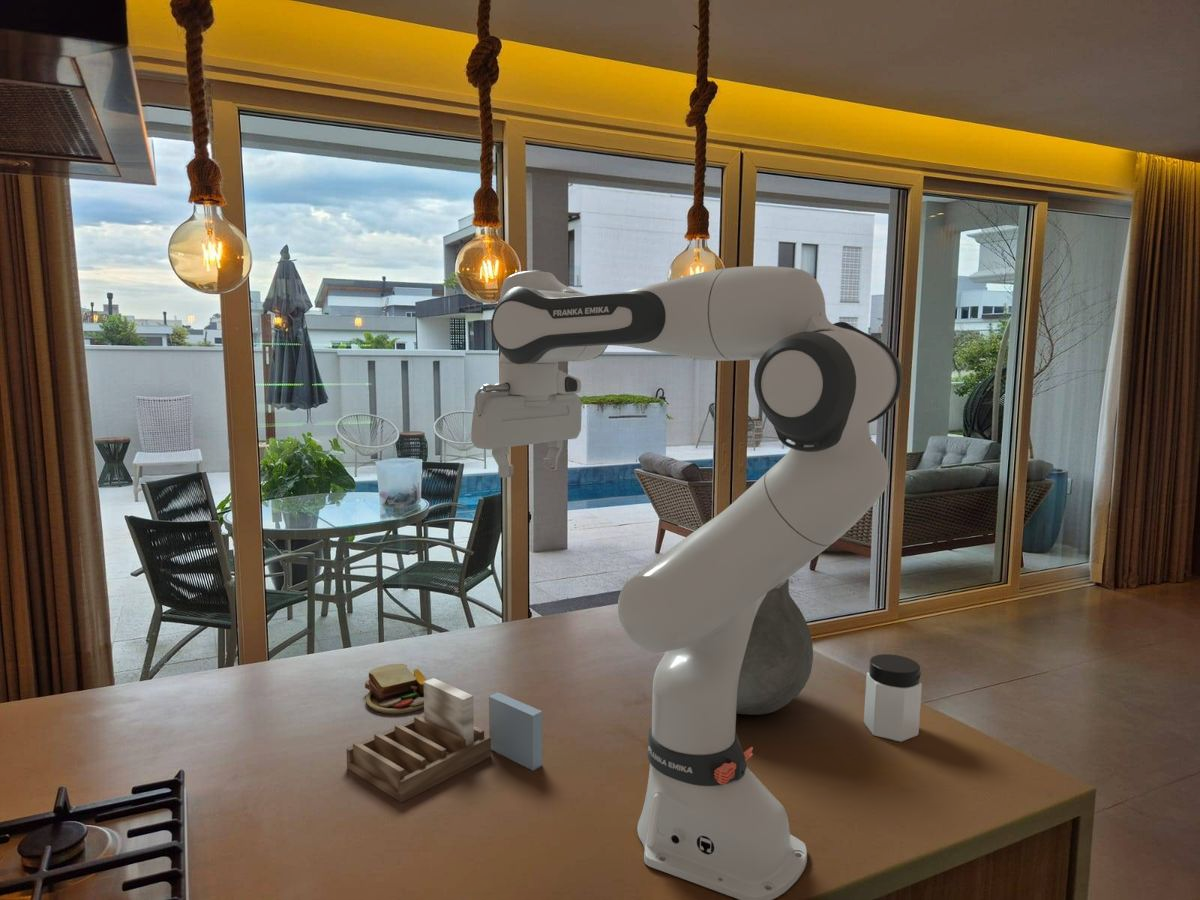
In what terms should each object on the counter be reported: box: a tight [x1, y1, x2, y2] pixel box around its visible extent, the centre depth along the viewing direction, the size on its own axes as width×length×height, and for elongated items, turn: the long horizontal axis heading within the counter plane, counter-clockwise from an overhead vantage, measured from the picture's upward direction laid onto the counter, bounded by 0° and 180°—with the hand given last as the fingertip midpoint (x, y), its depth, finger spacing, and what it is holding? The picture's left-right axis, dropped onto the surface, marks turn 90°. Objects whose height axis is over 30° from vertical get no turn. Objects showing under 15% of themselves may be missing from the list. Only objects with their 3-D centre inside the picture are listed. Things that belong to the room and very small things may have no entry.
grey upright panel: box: [488, 692, 543, 771], centre depth 124 cm, size 10×2×9 cm, turn 50°
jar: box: [863, 653, 923, 743], centre depth 135 cm, size 9×8×12 cm
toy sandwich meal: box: [364, 663, 428, 715], centre depth 145 cm, size 12×14×5 cm
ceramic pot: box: [736, 578, 814, 716], centre depth 142 cm, size 24×24×25 cm
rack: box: [346, 677, 492, 803], centre depth 122 cm, size 14×17×10 cm
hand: (528, 473), depth 119 cm, fingers open, 8 cm apart
